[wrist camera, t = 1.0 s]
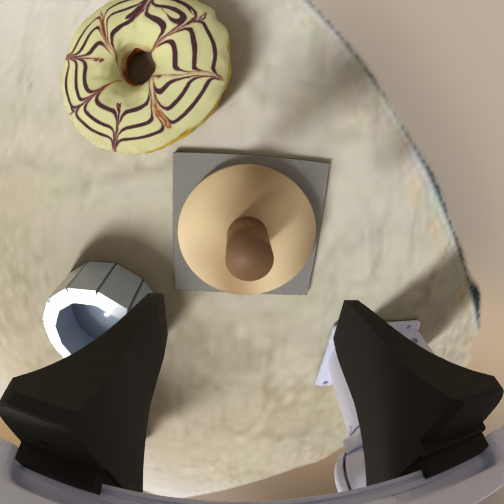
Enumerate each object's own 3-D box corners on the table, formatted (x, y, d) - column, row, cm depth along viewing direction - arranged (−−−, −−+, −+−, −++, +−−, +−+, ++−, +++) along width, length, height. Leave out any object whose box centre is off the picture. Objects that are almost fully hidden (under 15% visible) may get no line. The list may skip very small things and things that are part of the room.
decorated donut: (182, -22, 13) (172, -47, 9) (261, 94, 17) (268, 88, 13) (59, 63, 14) (30, 58, 11) (127, 177, 19) (105, 190, 15)
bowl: (158, 265, 21) (144, 295, 18) (167, 356, 25) (160, 389, 22) (54, 258, 21) (30, 283, 17) (78, 343, 25) (63, 372, 21)
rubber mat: (327, 163, 19) (329, 163, 18) (305, 292, 23) (307, 295, 23) (174, 151, 18) (173, 152, 18) (176, 286, 22) (175, 289, 22)
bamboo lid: (321, 170, 19) (344, 185, 14) (302, 289, 22) (315, 326, 18) (181, 160, 18) (164, 172, 14) (181, 284, 22) (171, 321, 18)
